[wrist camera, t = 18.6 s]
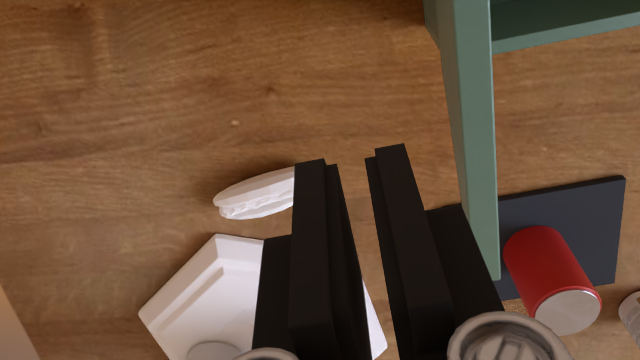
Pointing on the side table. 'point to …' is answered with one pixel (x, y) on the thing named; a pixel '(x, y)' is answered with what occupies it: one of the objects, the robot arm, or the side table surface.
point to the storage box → (546, 20)
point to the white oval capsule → (257, 195)
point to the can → (551, 280)
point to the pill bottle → (631, 315)
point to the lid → (472, 116)
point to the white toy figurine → (218, 304)
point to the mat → (568, 225)
